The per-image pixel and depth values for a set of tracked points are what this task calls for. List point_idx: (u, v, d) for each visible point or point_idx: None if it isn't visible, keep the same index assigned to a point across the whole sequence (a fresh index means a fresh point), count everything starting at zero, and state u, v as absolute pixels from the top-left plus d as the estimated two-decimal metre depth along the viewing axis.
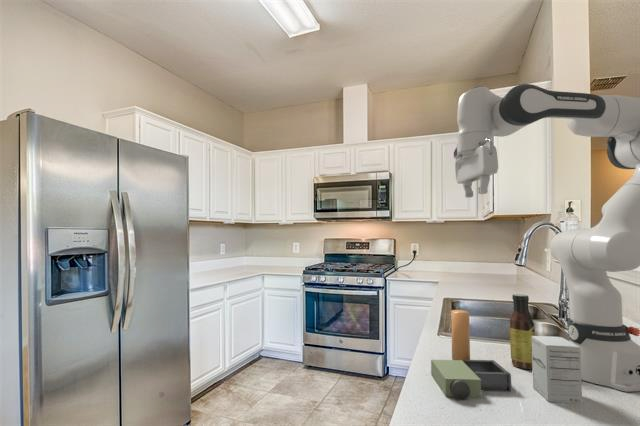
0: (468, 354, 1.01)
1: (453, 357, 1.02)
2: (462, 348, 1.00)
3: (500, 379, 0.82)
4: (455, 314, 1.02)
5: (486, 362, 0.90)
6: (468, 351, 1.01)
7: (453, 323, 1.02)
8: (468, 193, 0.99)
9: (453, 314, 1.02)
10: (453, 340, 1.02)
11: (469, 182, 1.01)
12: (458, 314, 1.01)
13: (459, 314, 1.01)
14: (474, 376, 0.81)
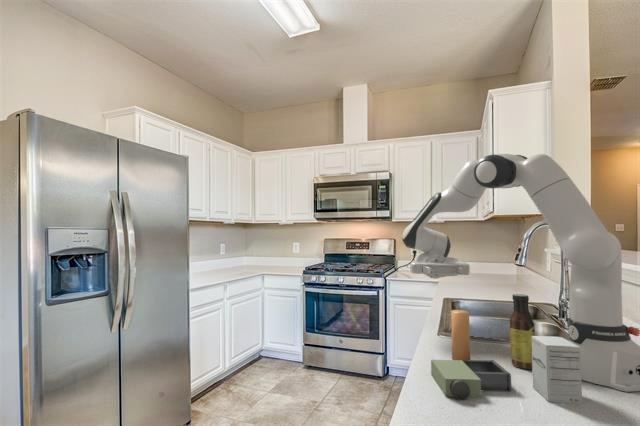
0: (468, 354, 1.01)
1: (453, 357, 1.02)
2: (462, 348, 1.00)
3: (500, 379, 0.82)
4: (455, 314, 1.02)
5: (486, 362, 0.90)
6: (468, 351, 1.01)
7: (453, 323, 1.02)
8: (457, 272, 1.17)
9: (453, 314, 1.03)
10: (453, 340, 1.02)
11: None
12: (458, 314, 1.01)
13: (459, 314, 1.01)
14: (474, 376, 0.81)
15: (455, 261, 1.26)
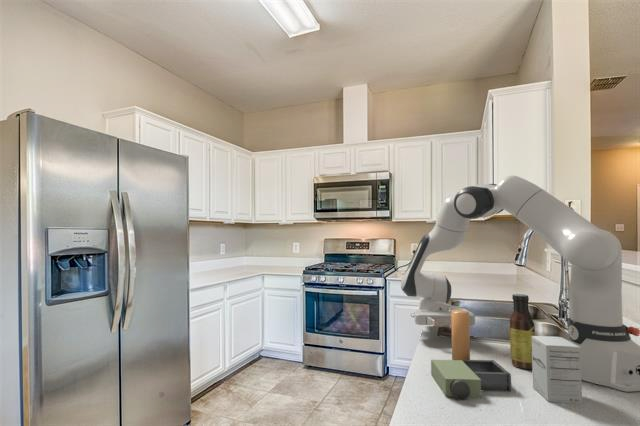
0: (468, 354, 1.01)
1: (453, 357, 1.02)
2: (462, 348, 1.00)
3: (500, 379, 0.82)
4: (455, 314, 1.02)
5: (486, 362, 0.90)
6: (468, 351, 1.01)
7: (453, 323, 1.02)
8: None
9: (453, 314, 1.02)
10: (453, 340, 1.02)
11: None
12: (458, 314, 1.01)
13: (459, 314, 1.01)
14: (474, 376, 0.81)
15: (460, 309, 1.23)
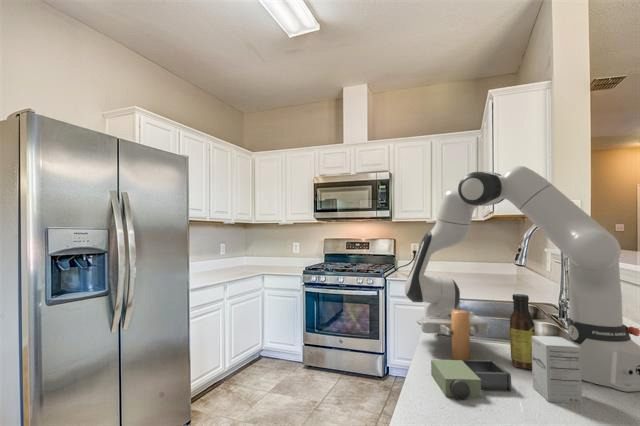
0: (468, 354, 1.01)
1: (453, 357, 1.02)
2: (462, 348, 1.00)
3: (500, 379, 0.82)
4: (455, 314, 1.02)
5: (486, 362, 0.90)
6: (468, 351, 1.01)
7: (453, 323, 1.02)
8: None
9: (453, 314, 1.02)
10: (453, 340, 1.02)
11: None
12: (458, 314, 1.01)
13: (459, 314, 1.01)
14: (474, 376, 0.81)
15: (471, 316, 1.13)
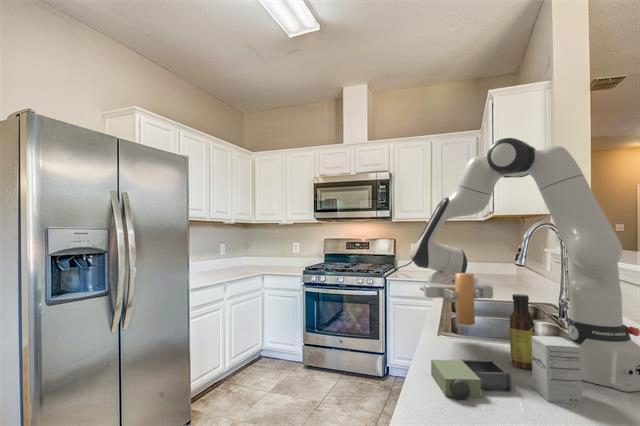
0: (473, 316, 0.98)
1: (457, 320, 0.99)
2: (467, 310, 0.97)
3: (500, 379, 0.82)
4: (459, 276, 0.99)
5: (486, 362, 0.90)
6: (473, 313, 0.98)
7: (457, 285, 0.99)
8: None
9: (457, 276, 1.00)
10: (457, 303, 0.99)
11: None
12: (462, 275, 0.98)
13: (463, 275, 0.98)
14: (474, 376, 0.81)
15: (475, 282, 1.10)
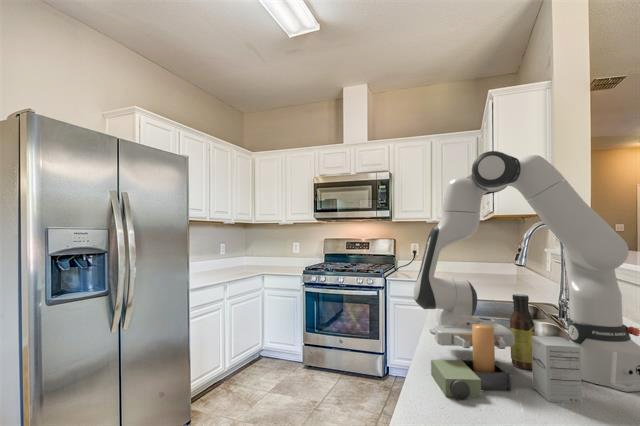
0: None
1: None
2: (487, 370, 0.84)
3: (500, 379, 0.82)
4: (477, 329, 0.86)
5: None
6: None
7: (475, 340, 0.86)
8: (497, 346, 0.87)
9: (475, 329, 0.87)
10: (475, 360, 0.86)
11: (496, 339, 0.90)
12: (481, 329, 0.85)
13: (482, 329, 0.85)
14: (474, 376, 0.81)
15: (493, 325, 0.97)
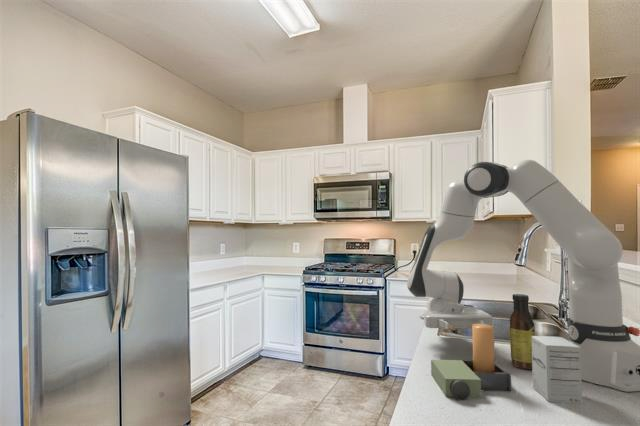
0: None
1: None
2: (487, 370, 0.84)
3: (500, 379, 0.82)
4: (477, 329, 0.86)
5: None
6: None
7: (475, 340, 0.86)
8: None
9: (475, 329, 0.87)
10: (475, 360, 0.86)
11: (477, 321, 1.04)
12: (481, 329, 0.85)
13: (482, 329, 0.85)
14: (474, 376, 0.81)
15: (475, 310, 1.10)
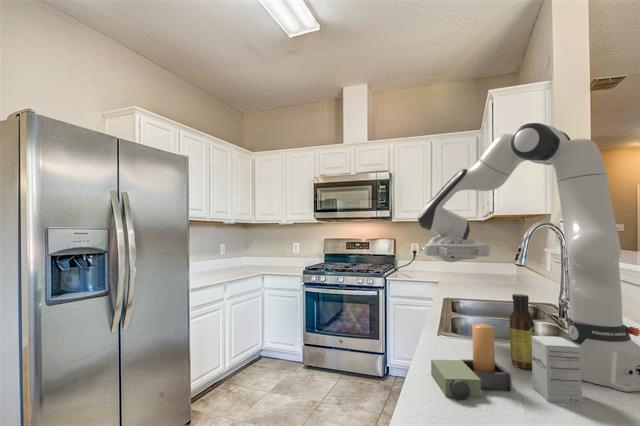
0: None
1: None
2: (487, 370, 0.84)
3: (500, 379, 0.82)
4: (477, 329, 0.86)
5: None
6: None
7: (475, 340, 0.86)
8: (476, 252, 1.06)
9: (475, 329, 0.87)
10: (475, 360, 0.86)
11: None
12: (481, 329, 0.85)
13: (482, 329, 0.85)
14: (474, 376, 0.81)
15: (473, 243, 1.16)
